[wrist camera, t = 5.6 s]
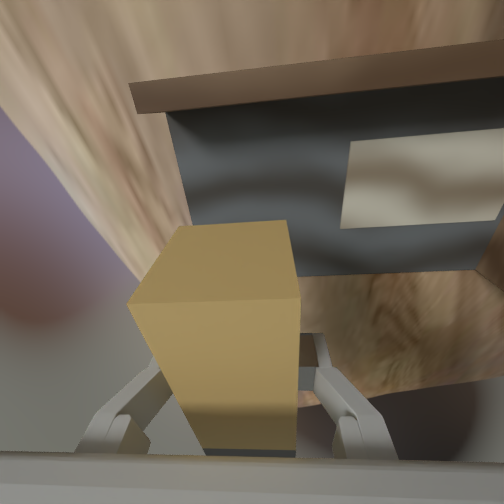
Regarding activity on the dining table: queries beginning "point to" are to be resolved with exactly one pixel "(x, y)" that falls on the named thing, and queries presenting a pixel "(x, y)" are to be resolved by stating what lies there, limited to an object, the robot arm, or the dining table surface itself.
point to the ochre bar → (227, 334)
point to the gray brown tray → (351, 156)
